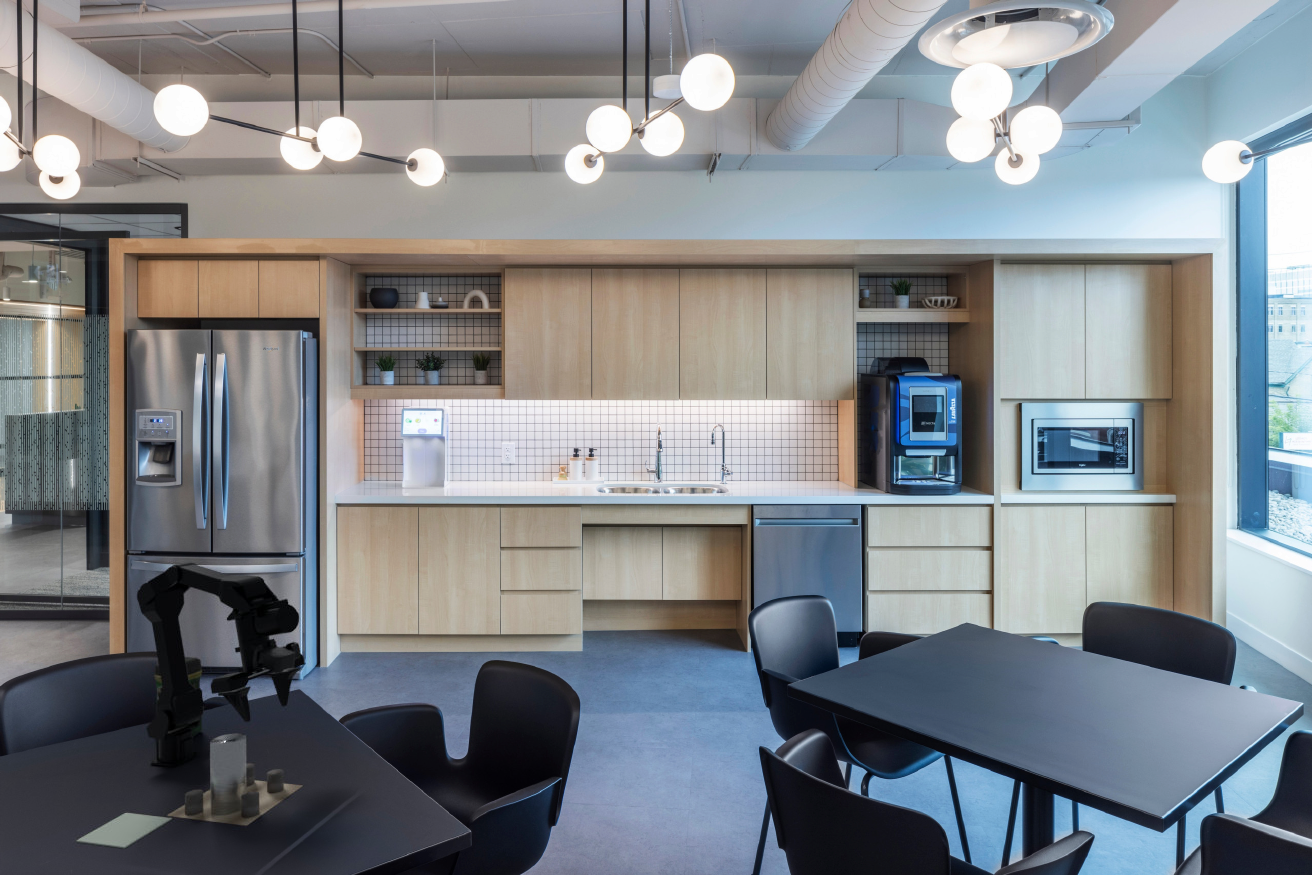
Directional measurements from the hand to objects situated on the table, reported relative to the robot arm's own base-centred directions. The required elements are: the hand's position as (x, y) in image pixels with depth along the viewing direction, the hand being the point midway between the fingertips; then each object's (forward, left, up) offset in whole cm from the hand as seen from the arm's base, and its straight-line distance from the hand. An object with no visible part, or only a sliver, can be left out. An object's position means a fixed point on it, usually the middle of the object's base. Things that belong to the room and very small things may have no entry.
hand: (266, 713), depth 161 cm
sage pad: (-10, -24, -14) cm, 29 cm away
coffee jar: (-36, +16, -14) cm, 42 cm away
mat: (+1, -10, -14) cm, 17 cm away
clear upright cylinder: (+2, -13, -13) cm, 18 cm away
